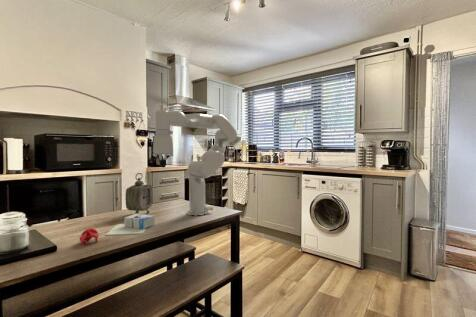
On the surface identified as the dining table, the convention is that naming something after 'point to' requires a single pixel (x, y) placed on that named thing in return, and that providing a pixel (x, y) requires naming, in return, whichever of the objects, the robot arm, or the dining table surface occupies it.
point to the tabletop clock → (139, 196)
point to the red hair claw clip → (88, 235)
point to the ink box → (139, 221)
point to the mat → (124, 230)
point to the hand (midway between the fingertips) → (163, 167)
